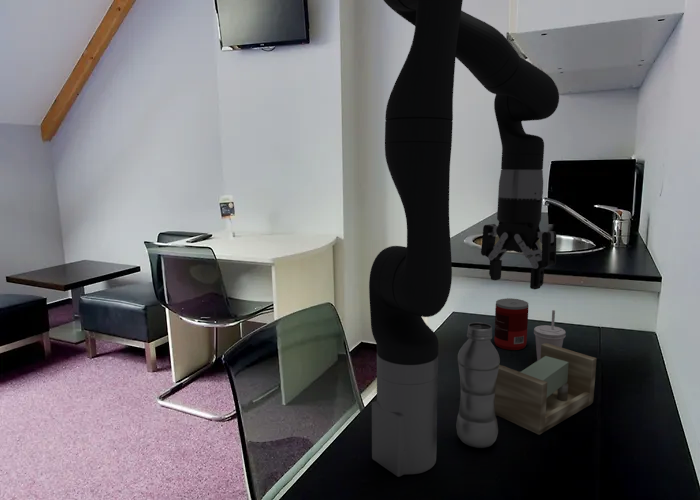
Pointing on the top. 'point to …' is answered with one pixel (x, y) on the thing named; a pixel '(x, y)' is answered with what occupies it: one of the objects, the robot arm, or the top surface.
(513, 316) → the canned food
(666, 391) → the top surface
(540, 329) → the smoothie
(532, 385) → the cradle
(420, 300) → the robot arm
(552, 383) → the grey-green rectangular block
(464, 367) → the plastic bottle
